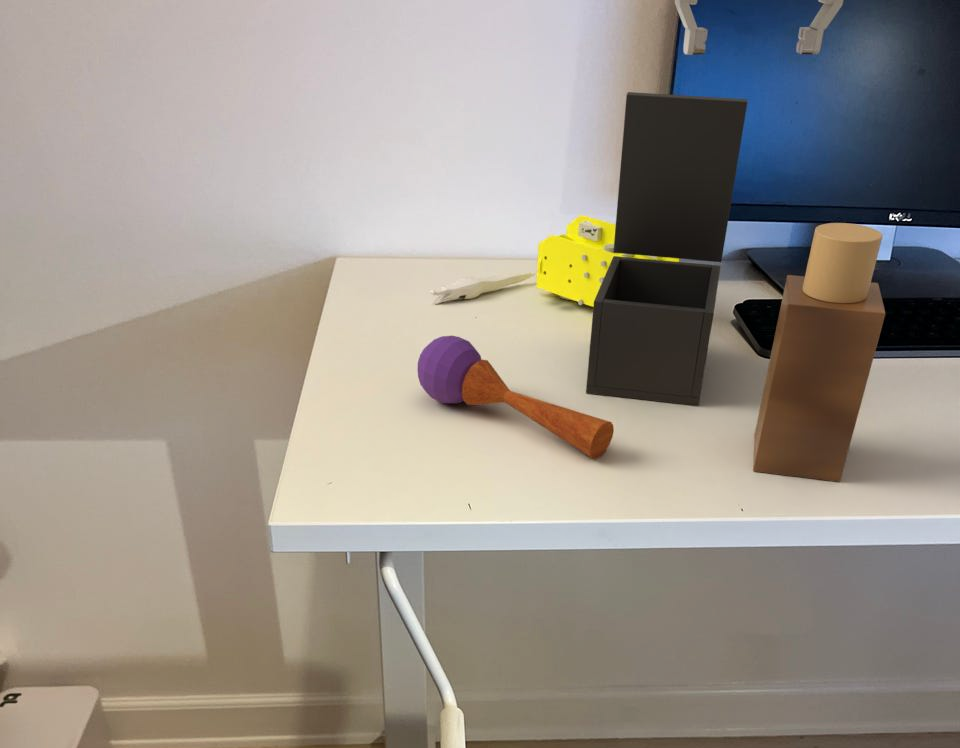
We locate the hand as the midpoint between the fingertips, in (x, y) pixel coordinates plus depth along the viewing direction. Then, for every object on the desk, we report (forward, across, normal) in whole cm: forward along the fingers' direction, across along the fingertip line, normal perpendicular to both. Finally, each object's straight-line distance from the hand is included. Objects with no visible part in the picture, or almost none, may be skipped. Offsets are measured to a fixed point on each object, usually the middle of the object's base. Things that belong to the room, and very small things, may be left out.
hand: (750, 53), depth 82 cm
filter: (+14, -4, +18) cm, 23 cm away
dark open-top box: (+27, +5, 0) cm, 28 cm away
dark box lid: (+11, +4, -6) cm, 13 cm away
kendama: (+28, +20, +11) cm, 36 cm away
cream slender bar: (+27, +21, -24) cm, 42 cm away
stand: (+28, -4, +18) cm, 33 cm away
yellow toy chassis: (+28, +8, -19) cm, 34 cm away
